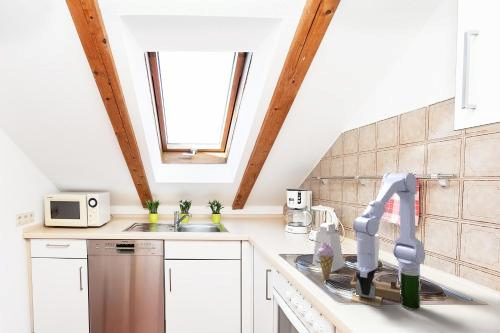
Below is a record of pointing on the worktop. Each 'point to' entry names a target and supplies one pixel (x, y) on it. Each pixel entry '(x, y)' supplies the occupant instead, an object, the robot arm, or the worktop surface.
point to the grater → (333, 240)
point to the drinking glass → (376, 249)
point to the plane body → (383, 289)
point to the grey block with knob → (372, 290)
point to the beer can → (410, 288)
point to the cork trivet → (367, 300)
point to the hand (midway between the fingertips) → (366, 291)
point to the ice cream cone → (325, 259)
